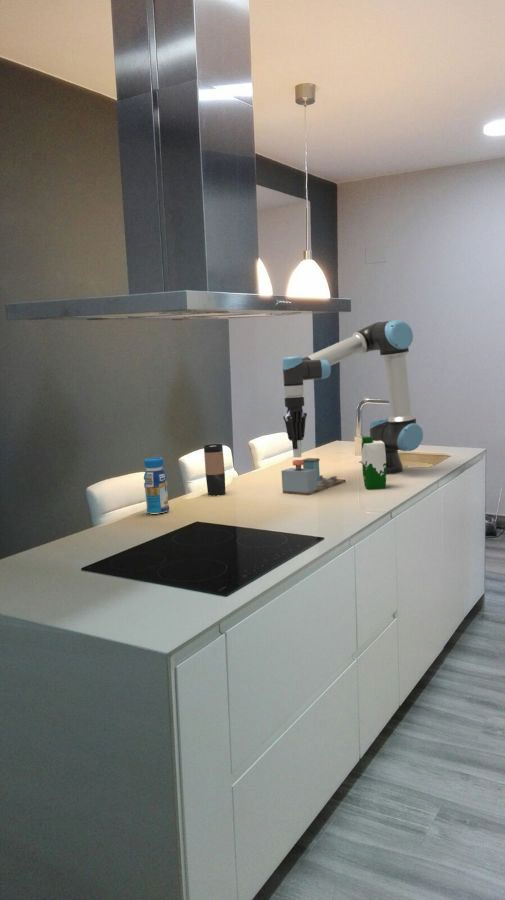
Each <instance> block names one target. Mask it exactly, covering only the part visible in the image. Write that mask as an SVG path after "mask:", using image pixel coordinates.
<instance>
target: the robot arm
mask: <svg viewBox="0 0 505 900" xmlns="http://www.w3.org/2000/svg"><path fill="white" fill-rule="evenodd" d="M413 339H414V333H413V330H412V327H411V326H410V325H409V324H408V323H407V322H405V321H404V320H400V319H399V320H397V319H395V320H394V319H392V320H387V321H379V322H374V323H372V324H370V325H368V326H366V327H363V328H362V329H360V330H357V331H355V332H354V333H353V334H352V335H351V336H350V337H348V338H345V339H343V340H341V341H338V342H336V343H334V344H332V345H329V346H327V347H325V348H323V349H321V350H317V351H316V352H314V353H311V354H309V355H307V356H305V357H302V356H301V355H295V356H284V357H283V358H282V376H283V391H284V397H285V398H284V407H286V408H287V411H286V415H283V416H282V417H283V418H282V419H283V420H284V422H285V423H284V424H285V429H286V432H287V438H288V440H289V441H290V442H292V452H293V453H292V454H293V456H292V457H293V458H302V441H303V440H304V438H305V430H306V420H307V415H308V413H307V412H304V409H303V407H304V406H305V397H304V395H305V389H304V381H311V380H312V381H313V380H324V379H327V378H329V377H330V375H331V372H332V366H333V365H335V364H338V363H339V362H343V361H345V360H347V359H349V358H351V357H353V356H355V355H357V354H361V355H362V354H365V353H368V352H373V351H379V355H380V356H381V358H383V359H384V367H385V375H386V376H385V377H386V385H387V393H388V404H389V413H390V415H389V418H385V419H376V420H371V421H370V424H369V437H373V441H382V442H384V444H385V453H386V475H387V474H390V473H391V474H397V472H398V473H401V472H403V471H404V467H403V463H402V461H401V457H400V455H399V451H401V452H412V451H415V450H416V449H418V447H420V445H421V444H422V441H423V439H424V431H423V428H422V427H421V426H420V425H419V424H418V423H417V417H416V416H415V415H414V414H413V413H412V407H411V396H410V386H409V378H408V377H409V376H408V367H407V359H406V358H407V355H408V354H409V352H410V351H409V350H410V349H409V347H410V346H411V345H412V343H413V341H414V340H413ZM402 470H403V471H402ZM391 474H390V475H391Z"/></svg>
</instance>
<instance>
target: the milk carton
mask: <svg viewBox="0 0 505 900" xmlns="http://www.w3.org/2000/svg"><path fill="white" fill-rule="evenodd" d="M361 439H362V441H361V462H362V463H361V464H362V465H361V466H362V477H363V478H362V480H363V483H364V487H365V489H366V490H367V491H368V490H380V489H382V490H383V489H386V488H387V487H386V485H387V484H386V483H387V474H386V453H385V444H384V442H382V441H373V437H370V436H363V437H362V438H361Z"/></svg>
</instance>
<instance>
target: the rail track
mask: <svg viewBox="0 0 505 900" xmlns="http://www.w3.org/2000/svg"><path fill="white" fill-rule="evenodd" d="M346 482H347V480H346V479H345V478H344V479H342V478H337V475H333V476H330V477H327V478H326V477H324V476H323V474H320V481H318V482H317V490H314V491H311V492H308V493H306V492H294V491H283V490H282V494H291V495H302V496H310V495H314V494H315V493H318V492H321V491H324V490H327V489H329V488H333V487H336V486H338V485H341V484H345V483H346Z"/></svg>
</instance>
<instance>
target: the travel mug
mask: <svg viewBox="0 0 505 900" xmlns="http://www.w3.org/2000/svg"><path fill="white" fill-rule="evenodd" d="M223 448H224V447H223V444H222V443H221V444H220V443H214V444H213V443H212V444H206V445H204V446H203V454H204V464H205V465H204V467H205V468H204V470H205V480H206V487H207V496H209V495H215V496H214V497H218V496H217V495H220V496H224V495H226V473H225V461H224V450H223Z"/></svg>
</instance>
